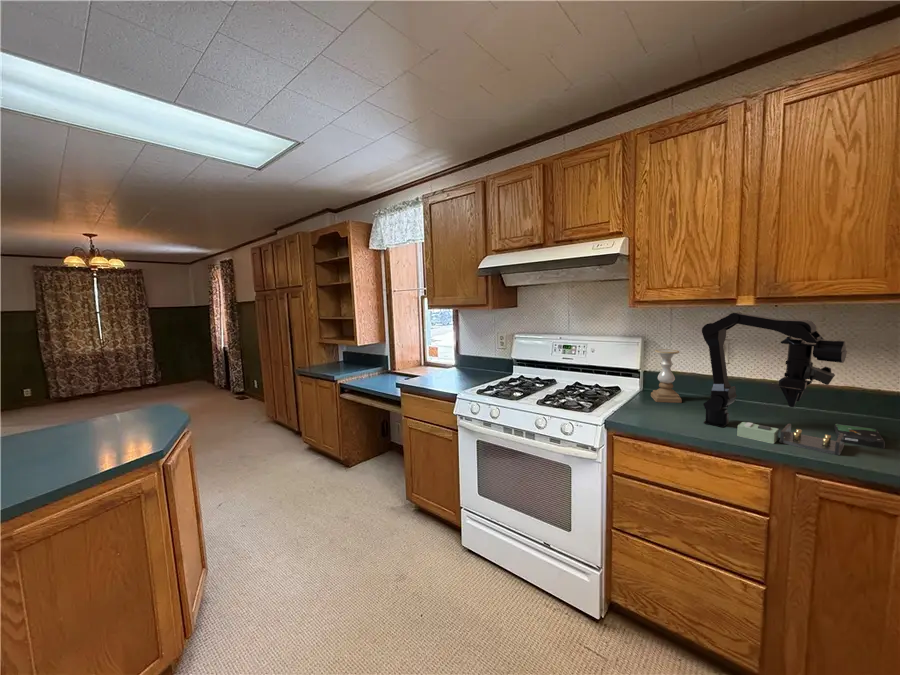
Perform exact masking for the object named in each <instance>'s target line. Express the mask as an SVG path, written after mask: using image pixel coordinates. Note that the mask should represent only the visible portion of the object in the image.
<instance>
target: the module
mask: <svg viewBox="0 0 900 675" xmlns="http://www.w3.org/2000/svg"><path fill="white" fill-rule="evenodd" d="M736 430H737V432H736V433H737V434H736V436H737V437H741V438H744V439H750V440H755V441H758V442H759V441H760V442H762V443H763V442H764V443H768V444H776V442H778V440H779V428H777V427H771V426H767V425H762V424H756V423H754V422H747V421H742V422H740V423H738V425H737V429H736Z"/></svg>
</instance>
